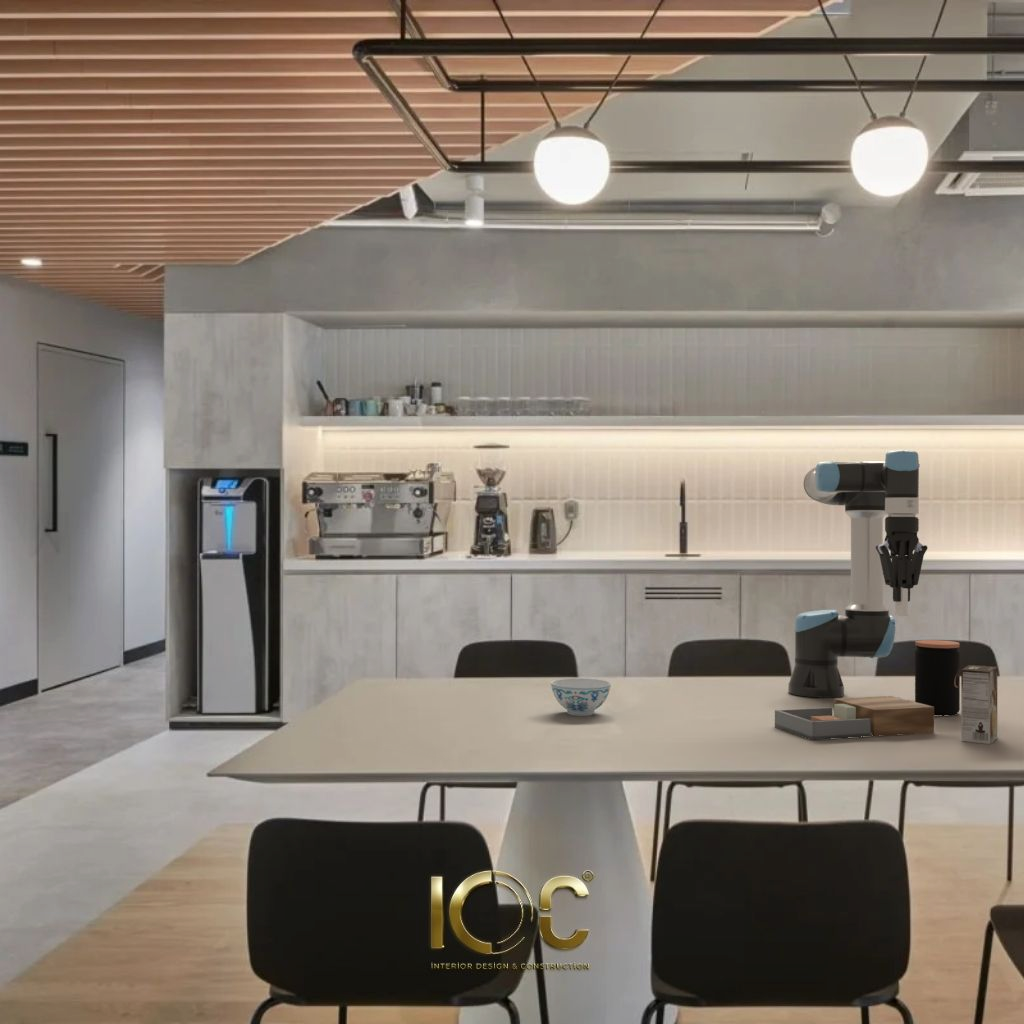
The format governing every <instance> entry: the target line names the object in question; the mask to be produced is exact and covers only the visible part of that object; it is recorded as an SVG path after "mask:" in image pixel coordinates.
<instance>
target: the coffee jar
mask: <svg viewBox="0 0 1024 1024" xmlns="http://www.w3.org/2000/svg"><path fill="white" fill-rule="evenodd" d="M914 642H915V644H914V645H915V646H916V649H915V651H914V653H915V654H914V655H915V656H914V679H915V680H914V702H917V703H921V704H925V705H929V706H933V707H934V715H942V716H941V717H945V716H944V715H955V716H957V715H956V714H958V713H960V710H961V706H960V705H961V703H960V697H961V695H960V692H961V690H960V686H961V682H960V681H961V680H960V679H961V677H960V676H961V674H960V673H961V670H960V668H961V667H960V666H961V664H960V663H961V662H960V661H961V659H960V657H961V654H960V651H959V650H958V649H959V648H960V645H961V644H960V642H957V641H953V640H952V641H951V640H940V639H939V640H938V639H922V640H921V639H920V640H915V641H914Z"/></svg>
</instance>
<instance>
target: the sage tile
mask: <svg viewBox="0 0 1024 1024" xmlns="http://www.w3.org/2000/svg"><path fill="white" fill-rule="evenodd" d="M833 717H836V718H839V719H842V720H849V719H856V707H853V706H850V705H846V704H834V703H833Z"/></svg>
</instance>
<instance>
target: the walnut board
mask: <svg viewBox="0 0 1024 1024" xmlns="http://www.w3.org/2000/svg"><path fill="white" fill-rule="evenodd" d="M834 704H846V705H850V706H853V707H856V719H867V718H869V719H870V733H872V735H873V736H872V737H874V736H875V737H880V736H879V735H892V736H898V735H897V734H908V735H916V734H915V733H925V734H934V733H935V716H934V707H933V706H929V705H925V704H921V703H917V702H915V701H912V700H909V699H904V698H901V697H897V696H893V695H885V696H884V695H883V696H882V695H881V696H864V697H860V696H859V697H844V698H843V697H841V698H833V705H834ZM933 732H934V733H933Z"/></svg>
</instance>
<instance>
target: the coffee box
mask: <svg viewBox="0 0 1024 1024" xmlns="http://www.w3.org/2000/svg"><path fill="white" fill-rule="evenodd" d="M960 673H961V674H960V676H961V677H960V679H961V680H960V681H961V682H960V686H961V690H960V692H961V695H960V697H961V703H960V705H961V706H960V710H961V711H960V712H961V717H960V718H961V721H960V722H961V723H960V727H961V729H960V730H961V732H960V734H961V735H960V736H961V737H960V738H961V739H960V740H961V742H965V741H966V743H974V744H975V743H976V744H985V745H986V744H987V745H991V744H992V743H993V742H994V741H995V740H996V739H997V738H998V666H988V665H974V664H973V665H971V664H968V665H967V666H965V667H964V668H962V669H961V670H960Z"/></svg>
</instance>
